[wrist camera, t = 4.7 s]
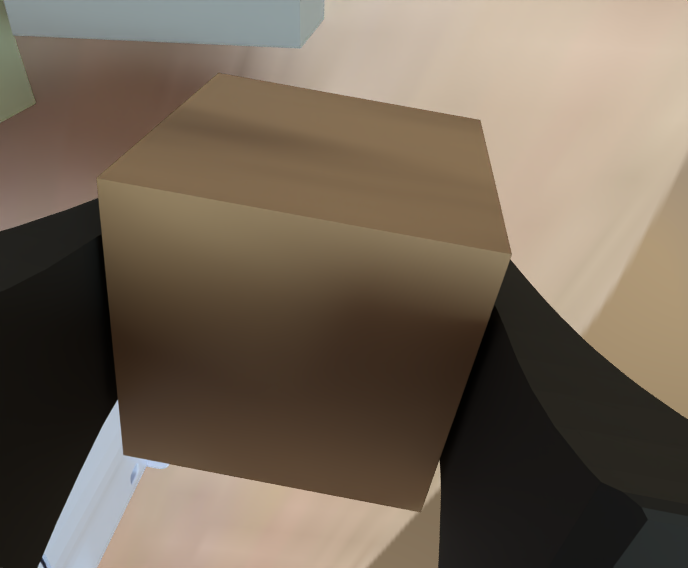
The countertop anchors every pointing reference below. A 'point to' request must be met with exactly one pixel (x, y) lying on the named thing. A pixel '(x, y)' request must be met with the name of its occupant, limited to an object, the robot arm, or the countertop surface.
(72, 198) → the countertop surface
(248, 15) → the slate block
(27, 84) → the sage cube
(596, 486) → the robot arm
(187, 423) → the walnut cube
